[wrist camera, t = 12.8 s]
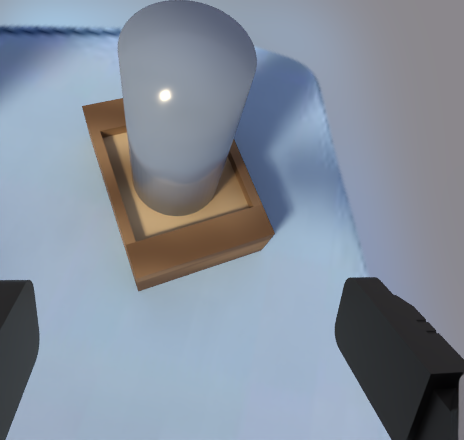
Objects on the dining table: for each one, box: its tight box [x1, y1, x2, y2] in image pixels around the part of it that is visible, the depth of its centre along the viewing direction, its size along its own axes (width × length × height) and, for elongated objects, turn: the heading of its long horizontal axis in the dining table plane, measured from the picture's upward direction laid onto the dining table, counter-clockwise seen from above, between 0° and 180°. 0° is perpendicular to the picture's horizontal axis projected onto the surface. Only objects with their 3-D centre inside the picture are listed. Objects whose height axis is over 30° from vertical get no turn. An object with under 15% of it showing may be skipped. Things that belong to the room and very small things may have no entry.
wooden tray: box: [82, 98, 275, 291], centre depth 27 cm, size 12×9×4 cm
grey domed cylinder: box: [118, 0, 257, 216], centre depth 22 cm, size 6×6×11 cm
